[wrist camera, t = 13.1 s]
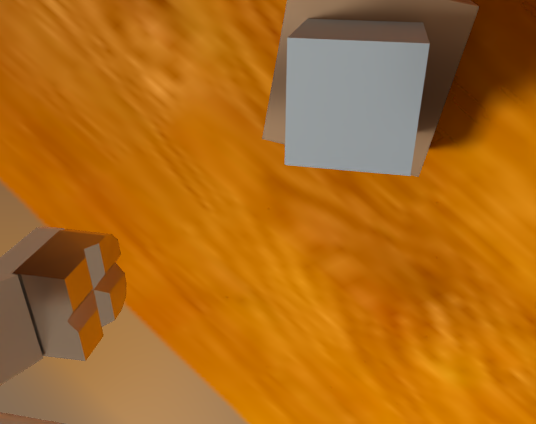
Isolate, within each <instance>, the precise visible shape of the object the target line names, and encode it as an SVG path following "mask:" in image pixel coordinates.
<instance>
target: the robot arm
mask: <svg viewBox="0 0 536 424" xmlns="http://www.w3.org/2000/svg"><path fill="white" fill-rule="evenodd" d="M120 255H121V252H120V247H119V243H118V239H117V238H115V237H114V236H113V235H112V234H104V233H96V232H88V231H80V230H72V229H63V228H54V227H38V228H35V229H34V230H33V231H32V232H31V233H29V234H28V235H27V236H26V237H25V238H23V239H22V240H21V241H20V242H19V243H17V244H16V245H15V246H14V247H13V248H11V249H10V250H9V251H8V252H7V253H5V254H4V255H3V256H2V257H0V385H2V384H4V383H5V382H7V381H8V380H10V379H11V378H13V377H14V376H16V375H18V374H19V373H21V372H22V371H24V370H25V369H27V368H28V367H30V366H32V365H33V364H35V363H36V362H38V361H39V360H41V359H43V356H49V357H57V358H66V359H74V360H82V361H86V360H87V358H88V357H89V356H90V354H91V353H92V351H93V350H94V348H95V347H96V346H97V344H98V343H99V342H100V340H101V339H102V337H103V331H102V326H104V325H106V324H108V323H110V322H112V321H114V320H115V319H116V317H117V316H118V314H119V313H120V312H121V309H122V307H123V304H124V301H125V298H126V278H125V273H124V272H123V271H122V270H121V268H120V267H119V266H118V265H117V264H116V261H117V260H118V258H119V257H120ZM0 424H64V423H58V422H53V421H47V420H41V419H36V418H30V417H25V416H19V415H14V414H8V413H2V412H0Z"/></svg>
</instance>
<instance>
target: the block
mask: <svg viewBox="0 0 536 424" xmlns="http://www.w3.org/2000/svg"><path fill="white" fill-rule="evenodd" d="M429 45H430V43H429V40H428V36H427V33H426V30H425V27H424V24H423V22H393V21H363V20H334V19H307V20H306V21H304V22H303V23H302V24H301V25H300V26H299V27H298V28H297V29H296V30H295V31H294V32H293V33H292V34H291V35H290V36H289V37H287V76H286V126H285V165H292V166H303V167H315V168H326V169H338V170H349V171H360V172H372V173H383V174H394V175H406V176H410V175H411V168H412V161H413V154H414V148H415V141H416V134H417V127H418V120H419V113H420V107H421V100H422V93H423V86H424V79H425V72H426V66H427V59H428V52H429Z"/></svg>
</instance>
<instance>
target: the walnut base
mask: <svg viewBox="0 0 536 424" xmlns="http://www.w3.org/2000/svg"><path fill="white" fill-rule="evenodd" d="M478 9H479V6H478V5H477V4H475V3H474V2H472V1H471V0H287V4H286V10H285V15H284V21H283V27H282V32H281V38H280V43H279V49H278V54H277V60H276V65H275V71H274V76H273V82H272V87H271V93H270V99H269V104H268V110H267V115H266V121H265V126H264V132H263V137H262V139H265V140H269V141H273V142H277V143H282V144H285V126H286V76H287V37H289V36H290V35H291V34H292V33H293V32H294V31H295V30H296V29H297V28H298V27H299V26H300V25H301V24H302V23H303V22H304V21H306V20H307V19H334V20H363V21H393V22H423V24H424V27H425V30H426V33H427V36H428V40H429V43H430V45H429V52H428V59H427V66H426V72H425V79H424V86H423V93H422V100H421V107H420V113H419V120H418V127H417V134H416V141H415V148H414V154H413V161H412V168H411V175H413V176H417V177H419V174H420V171H421V169H422V166H423V163H424V160H425V157H426V155H427V152H428V149H429V146H430V143H431V141H432V138H433V135H434V132H435V129H436V127H437V124H438V121H439V118H440V115H441V113H442V110H443V107H444V104H445V101H446V99H447V96H448V93H449V90H450V87H451V85H452V82H453V79H454V76H455V73H456V71H457V68H458V65H459V62H460V59H461V57H462V54H463V51H464V48H465V45H466V43H467V40H468V37H469V34H470V31H471V29H472V26H473V23H474V20H475V17H476V15H477V12H478Z"/></svg>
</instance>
